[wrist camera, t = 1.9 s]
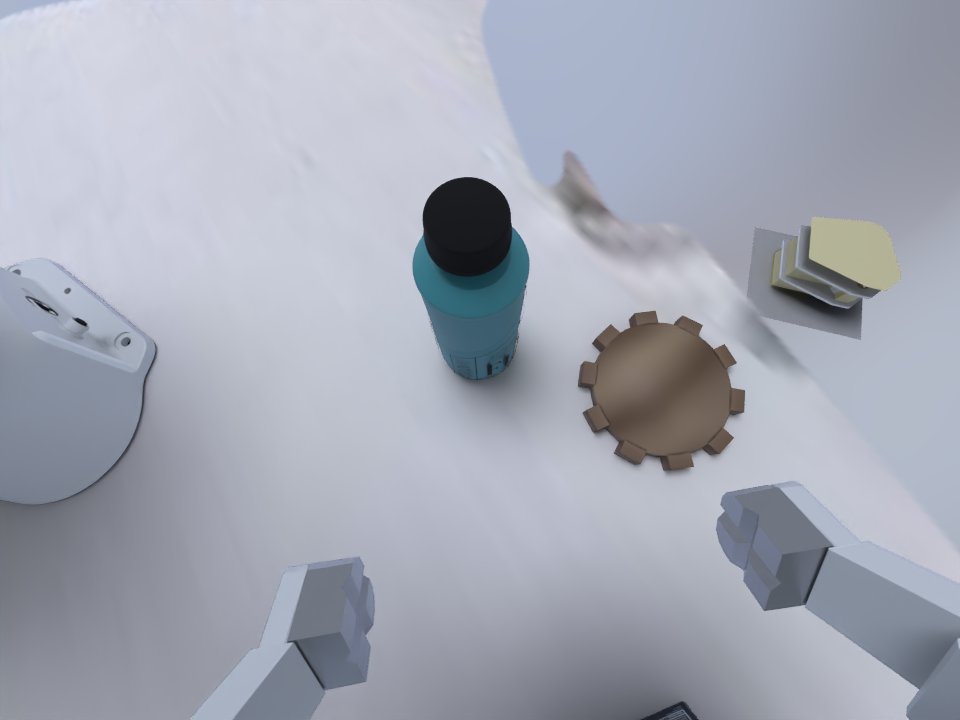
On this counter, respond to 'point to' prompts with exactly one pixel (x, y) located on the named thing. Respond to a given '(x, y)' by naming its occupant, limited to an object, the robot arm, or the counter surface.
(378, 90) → the counter surface
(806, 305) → the stacked layers on plate
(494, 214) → the beverage bottle
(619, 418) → the gear plate
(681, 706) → the small box
